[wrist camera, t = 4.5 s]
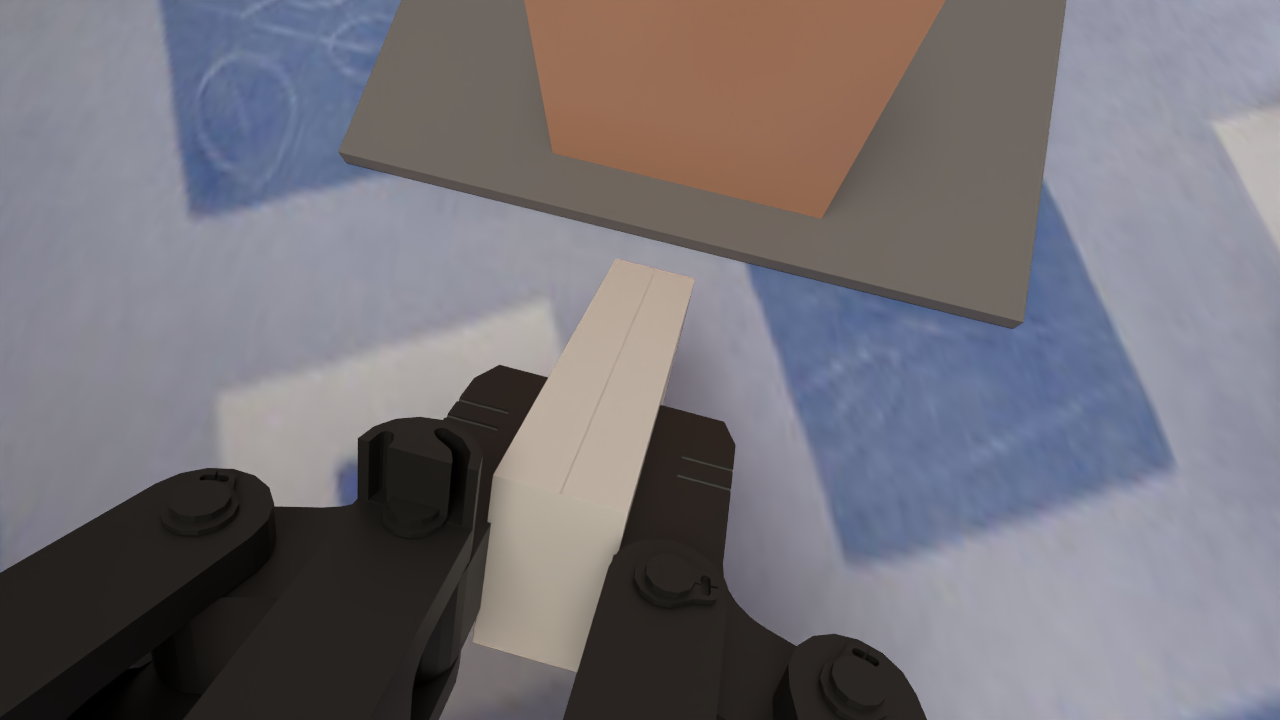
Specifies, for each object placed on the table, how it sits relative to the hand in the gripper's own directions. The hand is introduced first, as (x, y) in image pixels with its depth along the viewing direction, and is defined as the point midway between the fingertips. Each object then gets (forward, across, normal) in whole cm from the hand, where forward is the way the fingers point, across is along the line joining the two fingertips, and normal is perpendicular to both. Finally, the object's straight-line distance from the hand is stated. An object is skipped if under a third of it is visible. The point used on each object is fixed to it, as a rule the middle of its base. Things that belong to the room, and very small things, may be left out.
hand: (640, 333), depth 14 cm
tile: (+10, 0, +1) cm, 10 cm away
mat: (+14, 0, +5) cm, 15 cm away
